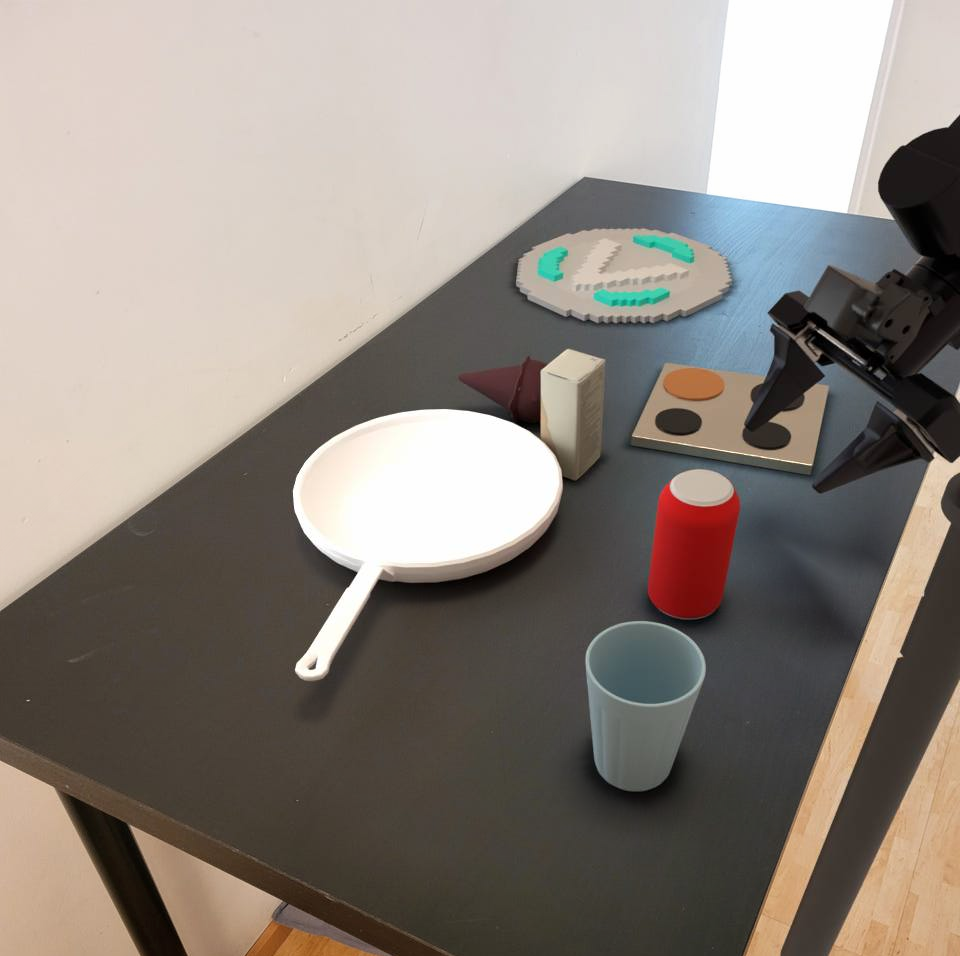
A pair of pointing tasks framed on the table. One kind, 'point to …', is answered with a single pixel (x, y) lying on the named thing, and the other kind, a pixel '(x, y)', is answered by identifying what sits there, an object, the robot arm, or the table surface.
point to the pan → (421, 505)
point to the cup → (640, 700)
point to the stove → (728, 420)
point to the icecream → (511, 388)
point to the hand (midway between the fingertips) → (780, 458)
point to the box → (573, 410)
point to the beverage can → (693, 543)
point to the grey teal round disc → (623, 275)
